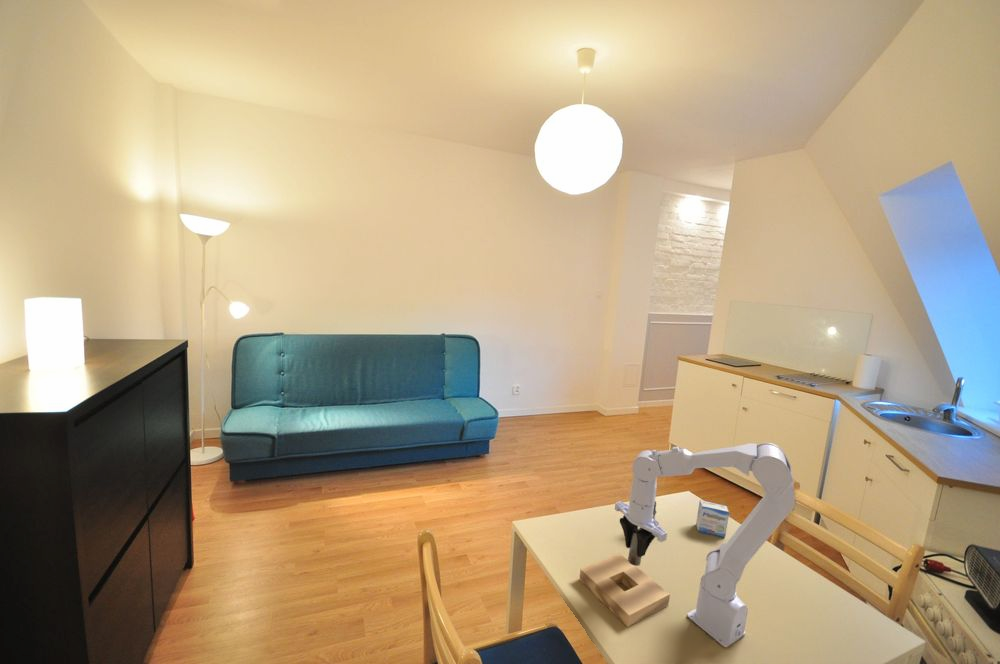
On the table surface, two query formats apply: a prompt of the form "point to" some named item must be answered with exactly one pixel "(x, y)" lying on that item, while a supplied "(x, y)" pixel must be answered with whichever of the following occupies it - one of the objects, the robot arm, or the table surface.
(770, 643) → the table surface
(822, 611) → the table surface
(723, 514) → the medicine box
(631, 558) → the metal peg
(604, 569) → the oak hole block
